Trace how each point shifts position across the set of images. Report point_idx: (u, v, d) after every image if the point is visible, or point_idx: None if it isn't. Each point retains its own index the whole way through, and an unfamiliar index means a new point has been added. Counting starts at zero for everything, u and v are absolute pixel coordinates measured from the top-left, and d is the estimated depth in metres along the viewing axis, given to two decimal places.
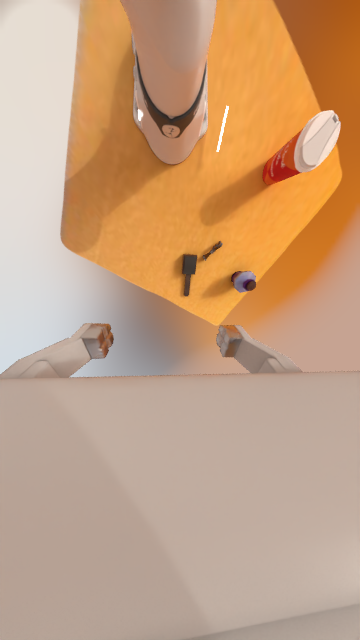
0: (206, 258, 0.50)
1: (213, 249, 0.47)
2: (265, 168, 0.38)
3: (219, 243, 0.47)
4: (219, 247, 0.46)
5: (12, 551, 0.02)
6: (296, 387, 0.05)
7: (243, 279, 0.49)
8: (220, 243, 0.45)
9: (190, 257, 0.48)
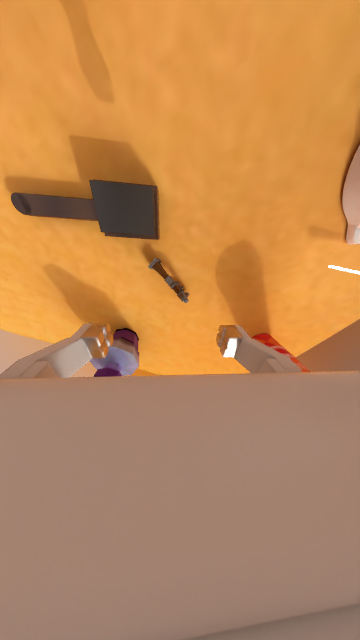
0: (153, 268, 0.20)
1: (174, 283, 0.19)
2: (267, 336, 0.29)
3: (186, 294, 0.21)
4: (179, 297, 0.19)
5: (12, 551, 0.02)
6: (296, 387, 0.05)
7: (119, 361, 0.22)
8: (187, 297, 0.20)
9: (150, 211, 0.15)
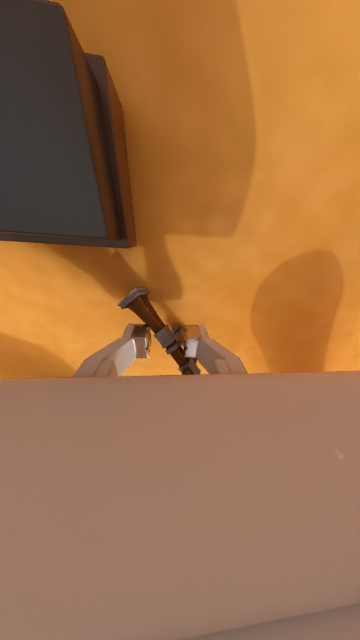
0: (130, 308, 0.09)
1: (175, 345, 0.09)
2: None
3: (195, 359, 0.11)
4: None
5: (12, 551, 0.02)
6: (296, 387, 0.05)
7: None
8: (199, 372, 0.10)
9: (78, 146, 0.04)
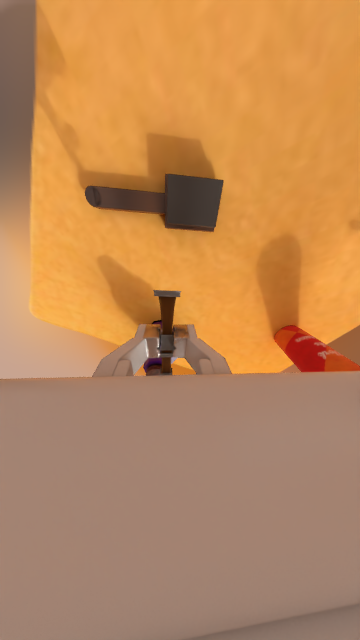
0: (159, 300, 0.09)
1: (172, 353, 0.10)
2: (296, 327, 0.31)
3: None
4: None
5: (12, 551, 0.02)
6: (296, 387, 0.05)
7: None
8: None
9: (216, 203, 0.16)
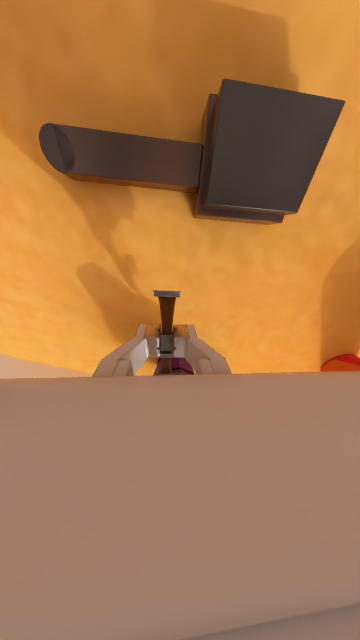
0: (159, 300, 0.09)
1: (172, 354, 0.10)
2: (357, 358, 0.22)
3: None
4: None
5: (12, 551, 0.02)
6: (296, 387, 0.05)
7: None
8: None
9: (314, 160, 0.07)
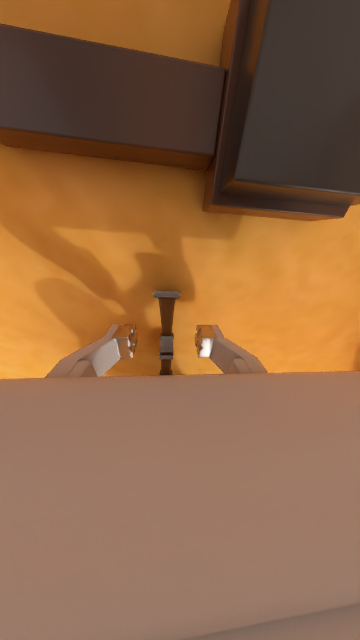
0: (159, 301, 0.09)
1: (172, 355, 0.09)
2: None
3: None
4: None
5: (12, 551, 0.02)
6: (296, 387, 0.05)
7: None
8: None
9: None
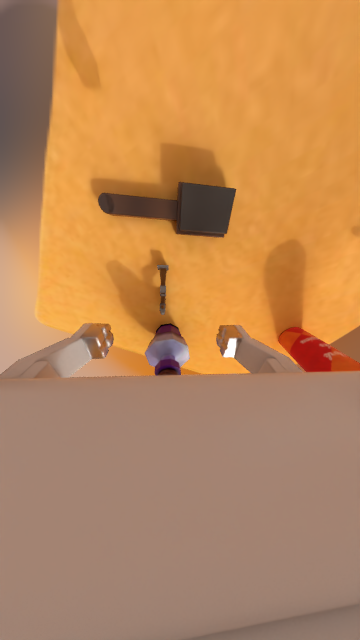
0: (159, 269, 0.21)
1: (165, 294, 0.22)
2: (299, 329, 0.31)
3: None
4: (161, 307, 0.21)
5: (12, 551, 0.02)
6: (296, 387, 0.05)
7: (175, 353, 0.23)
8: (164, 311, 0.22)
9: (228, 210, 0.16)
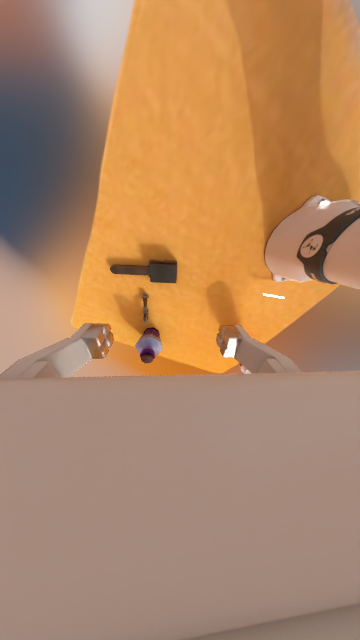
0: None
1: (146, 312, 0.38)
2: None
3: (147, 318, 0.40)
4: (143, 319, 0.38)
5: (12, 551, 0.02)
6: (296, 387, 0.05)
7: (152, 345, 0.40)
8: None
9: (174, 273, 0.32)
